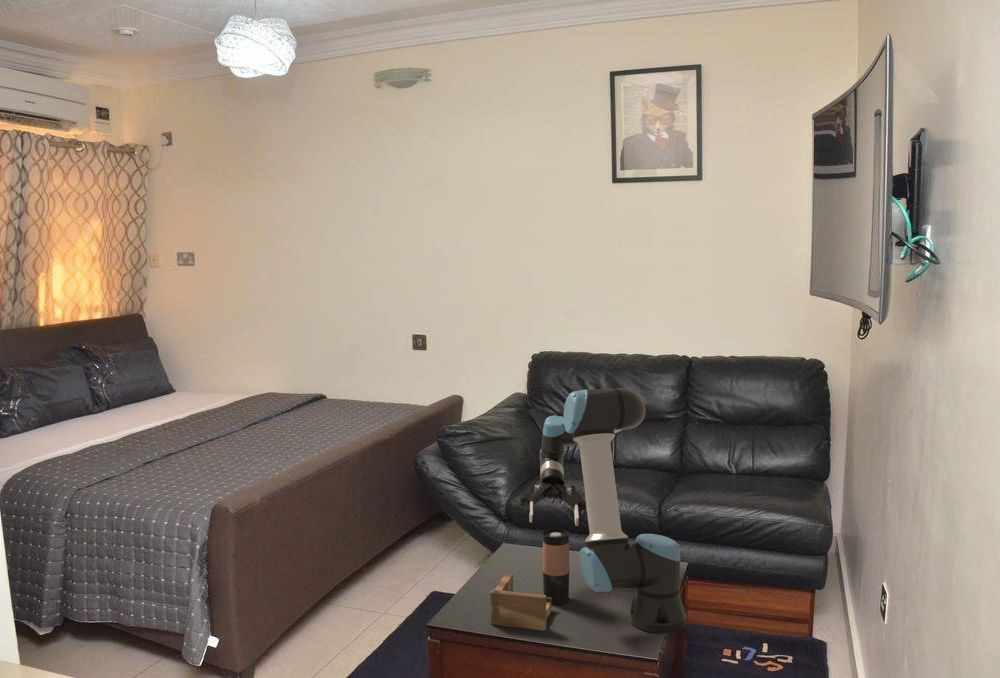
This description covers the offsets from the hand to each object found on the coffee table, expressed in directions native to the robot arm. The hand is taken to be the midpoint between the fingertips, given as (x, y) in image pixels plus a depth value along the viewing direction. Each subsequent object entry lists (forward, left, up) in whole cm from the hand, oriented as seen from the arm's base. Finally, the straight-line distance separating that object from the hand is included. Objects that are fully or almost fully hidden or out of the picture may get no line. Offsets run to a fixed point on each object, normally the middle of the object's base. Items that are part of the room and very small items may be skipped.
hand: (554, 520), depth 246 cm
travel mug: (-5, +5, -22) cm, 23 cm away
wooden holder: (-7, +19, -21) cm, 29 cm away
